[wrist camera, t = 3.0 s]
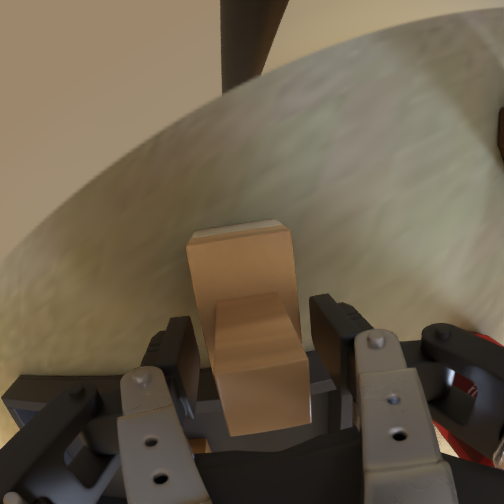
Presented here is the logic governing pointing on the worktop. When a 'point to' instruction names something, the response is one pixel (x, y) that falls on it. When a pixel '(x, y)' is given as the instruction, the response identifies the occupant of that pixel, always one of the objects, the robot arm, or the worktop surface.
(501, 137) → the beer bottle
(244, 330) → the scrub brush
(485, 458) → the canned food
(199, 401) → the tray
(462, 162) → the worktop surface
